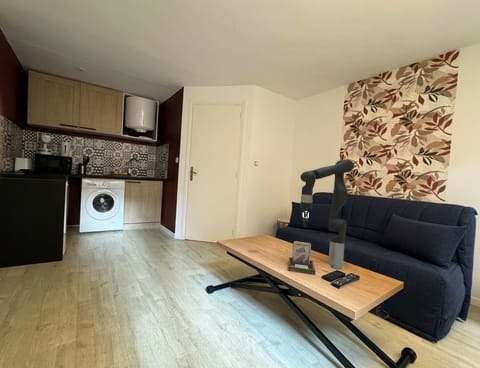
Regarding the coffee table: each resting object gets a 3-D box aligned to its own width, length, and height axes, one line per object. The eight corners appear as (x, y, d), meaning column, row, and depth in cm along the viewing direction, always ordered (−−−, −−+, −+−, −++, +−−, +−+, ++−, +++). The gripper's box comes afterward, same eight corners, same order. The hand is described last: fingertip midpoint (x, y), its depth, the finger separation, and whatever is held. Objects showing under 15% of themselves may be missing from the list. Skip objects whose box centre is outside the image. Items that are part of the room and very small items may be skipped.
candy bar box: (291, 266, 154) (293, 242, 154) (292, 264, 158) (294, 240, 158) (308, 270, 149) (310, 245, 149) (309, 267, 154) (311, 243, 154)
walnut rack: (288, 263, 160) (288, 257, 160) (312, 266, 156) (312, 260, 156) (287, 273, 141) (288, 266, 141) (314, 277, 138) (315, 270, 138)
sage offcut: (294, 267, 149) (294, 264, 149) (307, 268, 147) (307, 265, 147) (294, 270, 143) (295, 267, 143) (308, 272, 141) (308, 269, 141)
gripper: (300, 200, 160) (299, 223, 160) (300, 201, 146) (299, 227, 146) (311, 201, 158) (310, 224, 158) (312, 202, 144) (311, 228, 144)
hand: (304, 225), depth 152 cm, fingers open, 8 cm apart
